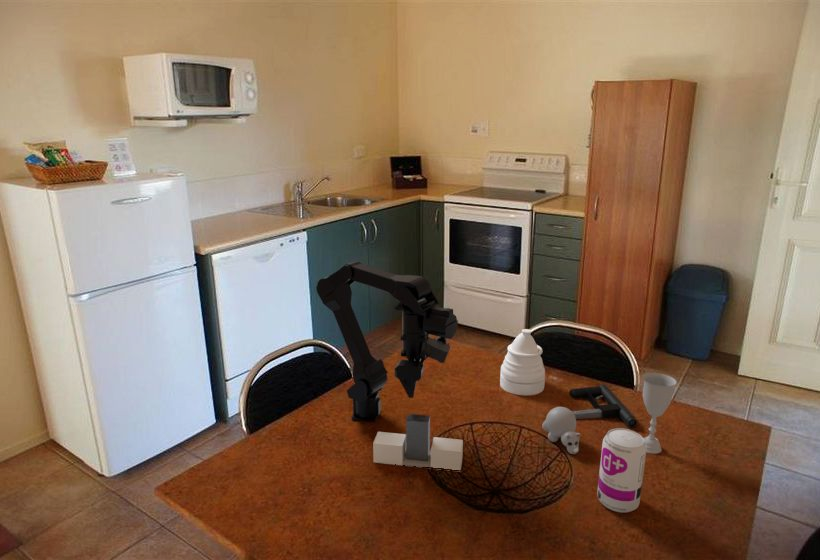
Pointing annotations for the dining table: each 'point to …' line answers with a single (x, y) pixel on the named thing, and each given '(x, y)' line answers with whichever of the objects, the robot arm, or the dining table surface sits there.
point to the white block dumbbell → (394, 452)
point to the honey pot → (523, 366)
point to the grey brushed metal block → (418, 437)
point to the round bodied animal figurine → (562, 428)
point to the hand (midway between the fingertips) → (414, 388)
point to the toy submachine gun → (605, 411)
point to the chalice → (656, 403)
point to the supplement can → (621, 470)
